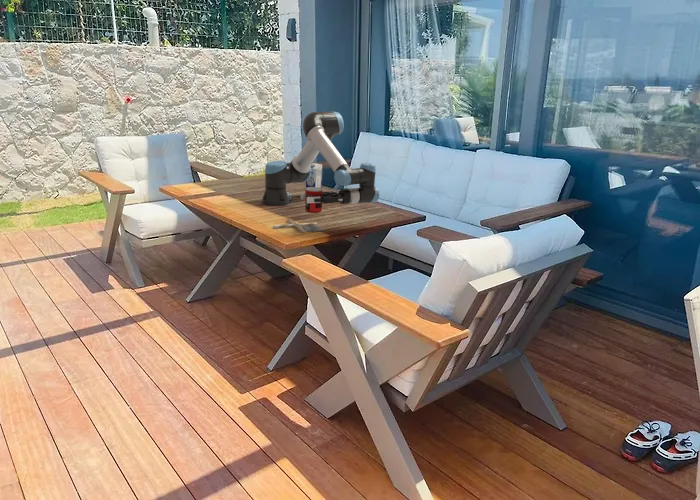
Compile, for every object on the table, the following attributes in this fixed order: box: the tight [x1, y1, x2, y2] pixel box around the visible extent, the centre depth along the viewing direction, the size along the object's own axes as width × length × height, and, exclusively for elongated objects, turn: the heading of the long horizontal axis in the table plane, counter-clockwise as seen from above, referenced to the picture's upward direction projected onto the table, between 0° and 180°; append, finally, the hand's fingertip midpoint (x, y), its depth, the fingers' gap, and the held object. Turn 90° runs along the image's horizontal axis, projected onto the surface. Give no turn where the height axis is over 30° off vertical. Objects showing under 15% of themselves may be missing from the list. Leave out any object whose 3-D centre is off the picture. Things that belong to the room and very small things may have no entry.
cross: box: [272, 218, 324, 233], centre depth 265 cm, size 22×22×1 cm
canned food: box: [304, 187, 323, 214], centre depth 257 cm, size 8×8×11 cm
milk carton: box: [305, 162, 323, 189], centre depth 325 cm, size 7×7×20 cm
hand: (304, 198), depth 255 cm, fingers closed on canned food, 8 cm apart
